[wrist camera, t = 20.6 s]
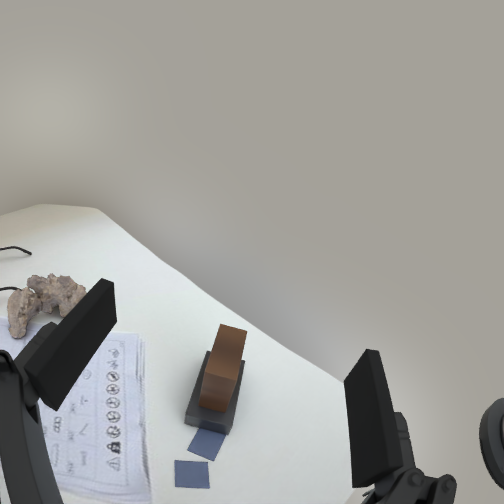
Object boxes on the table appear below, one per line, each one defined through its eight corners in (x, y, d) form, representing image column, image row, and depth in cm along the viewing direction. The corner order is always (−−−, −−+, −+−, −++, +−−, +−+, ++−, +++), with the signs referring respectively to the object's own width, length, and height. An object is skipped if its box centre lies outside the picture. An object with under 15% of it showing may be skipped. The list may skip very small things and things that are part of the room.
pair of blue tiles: (212, 496, 19) (212, 496, 19) (166, 483, 19) (166, 483, 19) (233, 400, 31) (233, 400, 31) (196, 390, 31) (196, 390, 31)
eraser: (228, 435, 26) (245, 396, 22) (184, 423, 26) (189, 380, 22) (241, 371, 35) (257, 324, 31) (204, 362, 35) (214, 312, 31)
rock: (7, 316, 29) (-6, 277, 26) (83, 293, 39) (79, 255, 36) (12, 343, 26) (-3, 303, 23) (96, 316, 36) (91, 276, 33)
